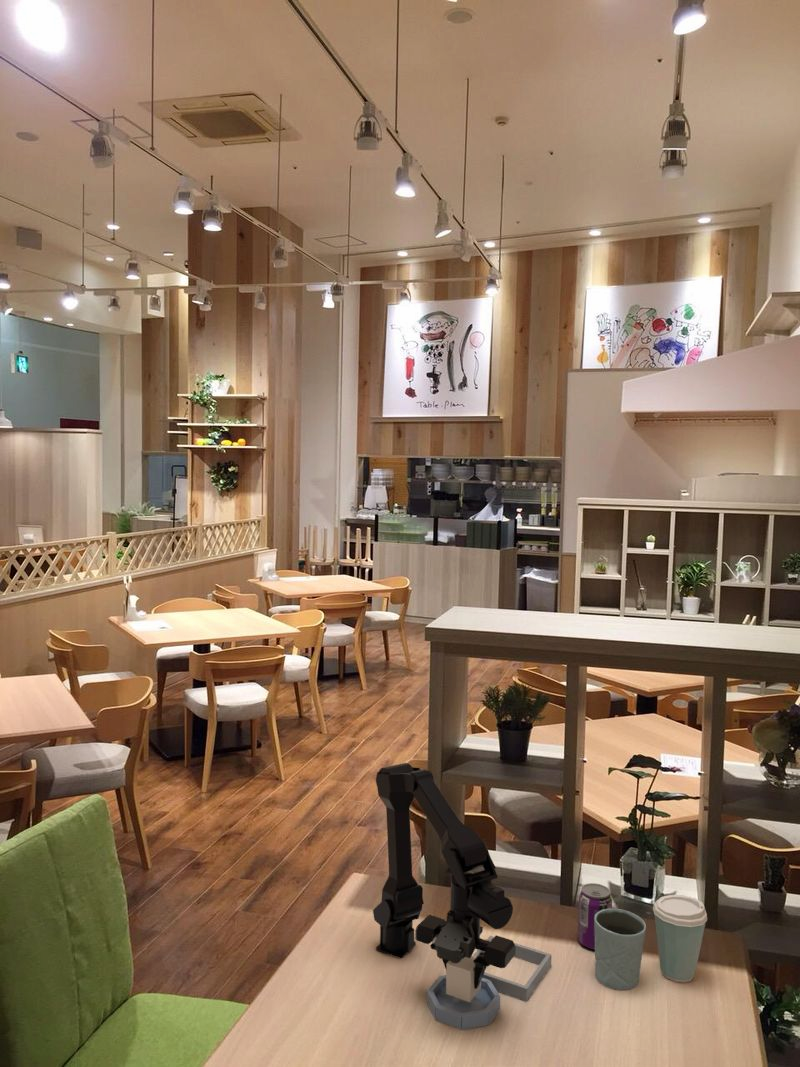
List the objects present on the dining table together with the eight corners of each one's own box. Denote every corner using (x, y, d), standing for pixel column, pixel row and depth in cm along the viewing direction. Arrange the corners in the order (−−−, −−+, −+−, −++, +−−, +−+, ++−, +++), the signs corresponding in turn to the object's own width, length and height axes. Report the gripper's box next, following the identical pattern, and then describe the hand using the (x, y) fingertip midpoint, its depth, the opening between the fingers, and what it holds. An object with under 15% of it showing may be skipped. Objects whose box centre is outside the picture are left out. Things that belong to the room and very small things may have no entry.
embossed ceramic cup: (591, 961, 176) (593, 905, 176) (641, 966, 174) (643, 911, 174) (593, 989, 166) (595, 931, 166) (646, 996, 165) (648, 937, 164)
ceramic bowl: (417, 1013, 158) (417, 1000, 158) (448, 978, 169) (448, 966, 169) (480, 1036, 152) (480, 1023, 152) (508, 998, 163) (508, 986, 163)
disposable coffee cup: (646, 980, 170) (649, 908, 169) (654, 953, 179) (656, 885, 178) (702, 994, 165) (705, 921, 164) (707, 966, 175) (710, 896, 174)
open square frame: (462, 979, 169) (462, 967, 169) (489, 946, 181) (490, 935, 181) (526, 1001, 162) (527, 989, 162) (551, 966, 174) (551, 954, 174)
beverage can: (611, 954, 179) (613, 899, 178) (577, 950, 180) (579, 896, 179) (610, 936, 186) (611, 884, 185) (577, 932, 187) (578, 880, 186)
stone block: (445, 993, 160) (446, 963, 159) (457, 980, 164) (458, 950, 163) (469, 1002, 157) (470, 971, 157) (481, 988, 161) (481, 958, 161)
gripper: (401, 909, 157) (400, 989, 158) (493, 938, 148) (491, 1023, 149) (429, 884, 167) (428, 960, 168) (517, 910, 157) (515, 990, 158)
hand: (463, 983), depth 160 cm, fingers closed on stone block, 5 cm apart
